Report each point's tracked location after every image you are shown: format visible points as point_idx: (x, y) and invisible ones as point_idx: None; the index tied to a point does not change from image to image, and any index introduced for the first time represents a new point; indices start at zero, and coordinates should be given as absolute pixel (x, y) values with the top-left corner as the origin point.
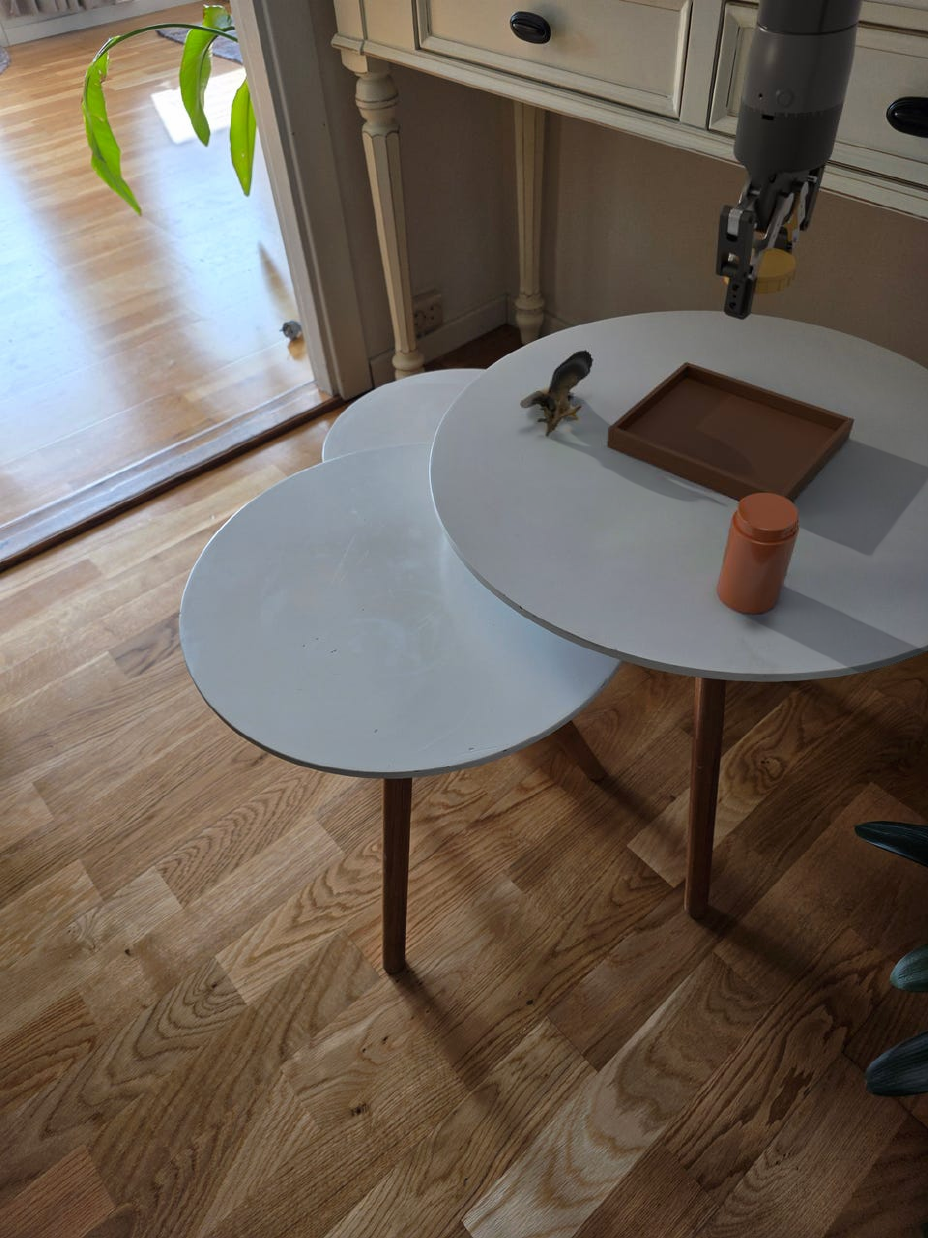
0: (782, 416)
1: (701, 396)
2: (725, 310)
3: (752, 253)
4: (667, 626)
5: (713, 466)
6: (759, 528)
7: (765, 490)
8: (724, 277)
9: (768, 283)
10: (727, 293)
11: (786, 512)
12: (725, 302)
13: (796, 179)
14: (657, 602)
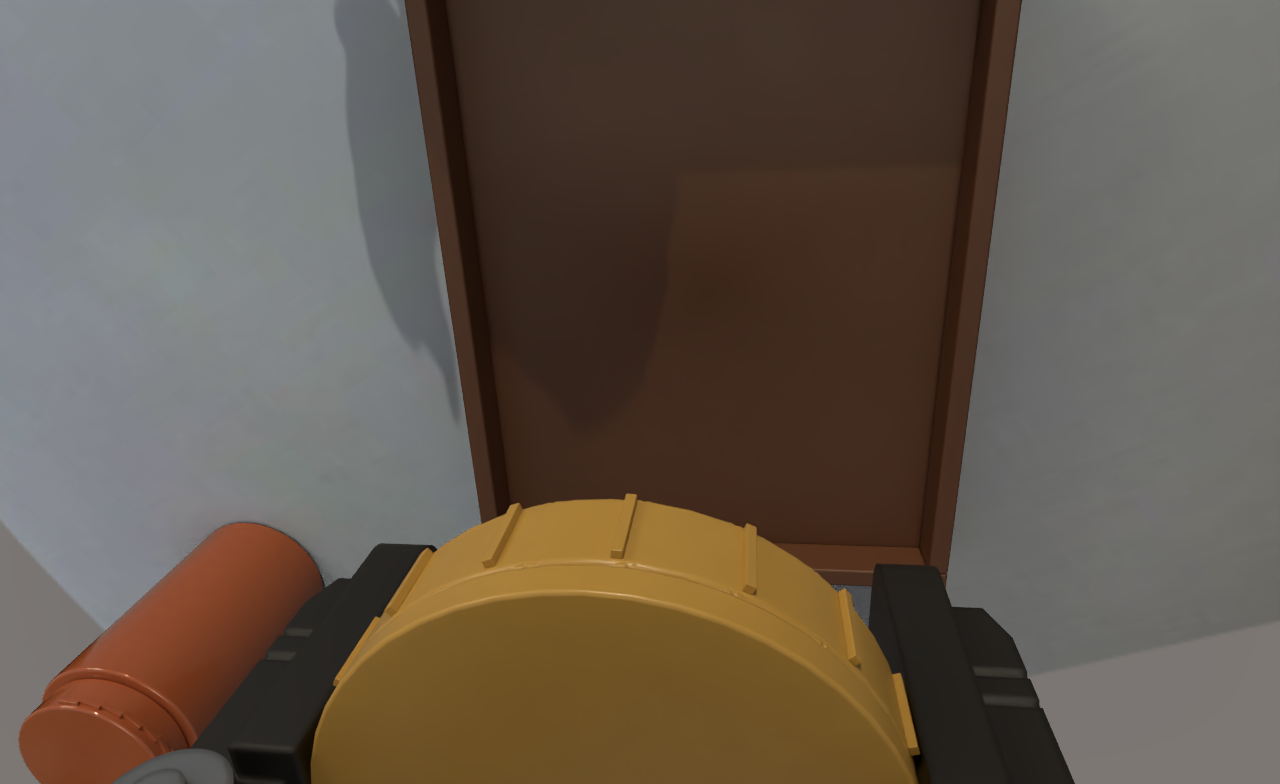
0: (909, 378)
1: (880, 78)
2: (327, 586)
3: (706, 750)
4: (67, 497)
5: (475, 371)
6: (31, 769)
7: None
8: (420, 568)
9: None
10: (252, 671)
11: None
12: (351, 581)
13: None
14: (93, 450)
